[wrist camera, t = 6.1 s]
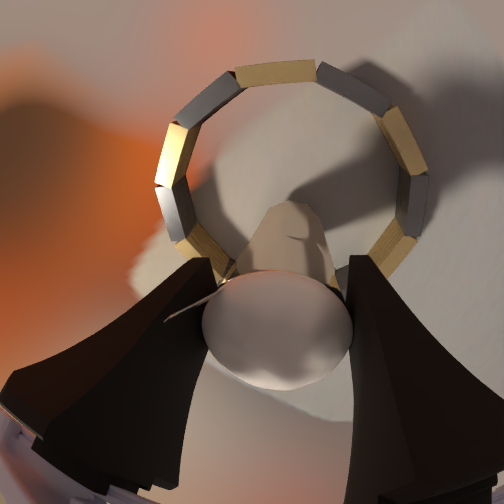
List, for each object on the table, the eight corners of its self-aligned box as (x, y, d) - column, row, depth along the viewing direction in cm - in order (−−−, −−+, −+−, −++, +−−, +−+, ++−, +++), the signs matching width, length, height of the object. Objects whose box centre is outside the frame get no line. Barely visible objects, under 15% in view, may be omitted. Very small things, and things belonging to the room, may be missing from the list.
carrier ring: (414, 68, 10) (430, 67, 8) (396, 286, 17) (402, 307, 16) (151, 90, 13) (132, 93, 11) (202, 287, 20) (194, 306, 19)
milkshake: (281, 158, 13) (235, 259, 5) (349, 232, 14) (388, 395, 6) (222, 215, 15) (127, 352, 7) (288, 278, 17) (264, 437, 8)
